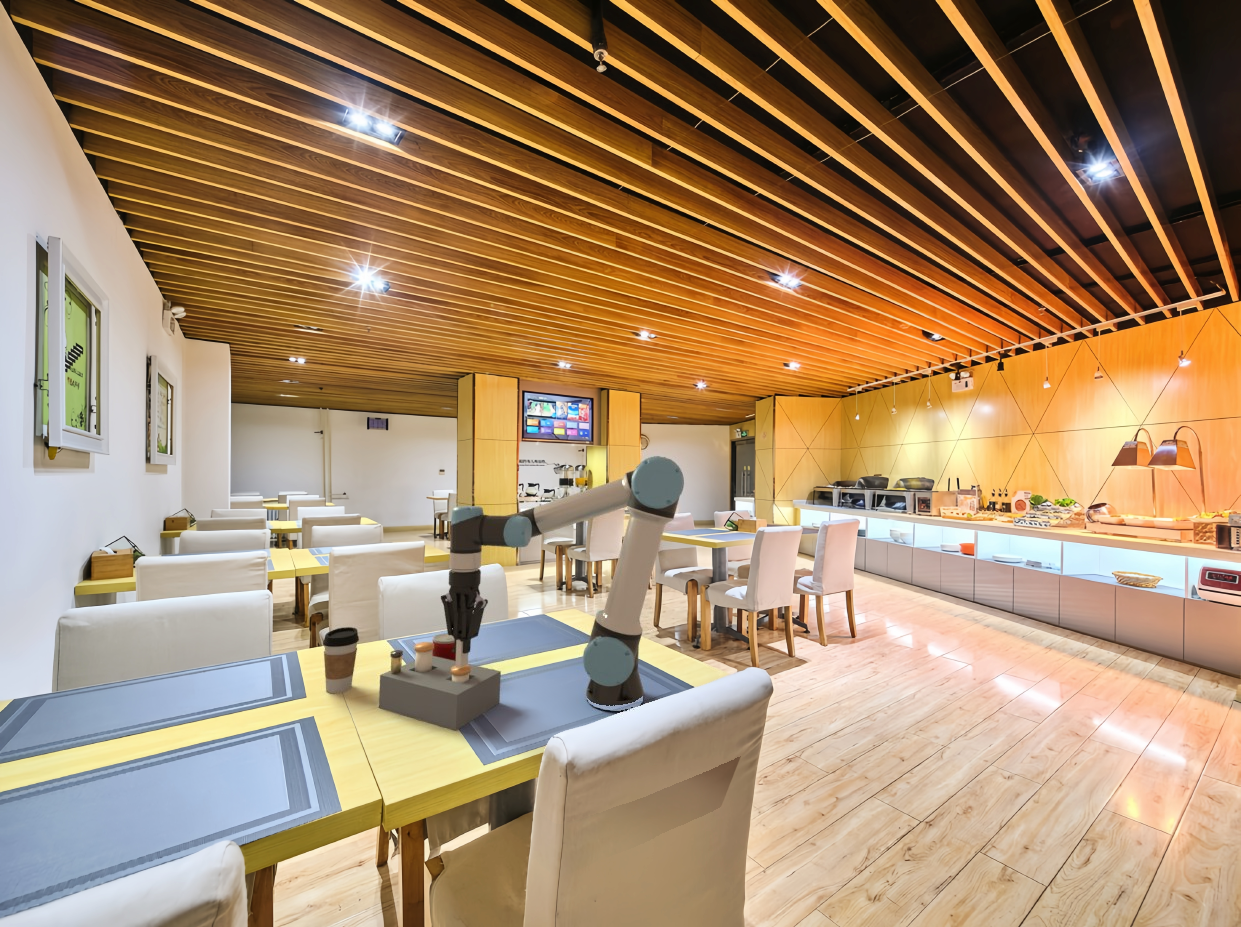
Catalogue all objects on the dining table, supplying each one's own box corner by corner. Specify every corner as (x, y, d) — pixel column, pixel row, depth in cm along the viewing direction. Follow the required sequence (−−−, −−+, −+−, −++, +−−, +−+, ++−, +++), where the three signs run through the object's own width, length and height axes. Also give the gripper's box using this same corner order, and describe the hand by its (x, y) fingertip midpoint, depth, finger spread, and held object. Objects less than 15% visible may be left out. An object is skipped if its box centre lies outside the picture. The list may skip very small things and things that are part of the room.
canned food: (455, 681, 143) (456, 642, 143) (426, 680, 143) (428, 640, 143) (464, 671, 151) (465, 633, 151) (436, 670, 151) (438, 632, 151)
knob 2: (473, 699, 127) (474, 666, 127) (460, 706, 123) (461, 672, 123) (458, 695, 129) (460, 663, 129) (445, 702, 125) (447, 669, 125)
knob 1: (436, 675, 132) (437, 643, 132) (423, 681, 128) (424, 649, 128) (423, 671, 134) (424, 640, 134) (409, 678, 130) (410, 646, 130)
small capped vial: (404, 671, 129) (405, 651, 129) (395, 675, 126) (396, 654, 126) (396, 669, 130) (396, 649, 130) (387, 673, 127) (387, 652, 127)
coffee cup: (363, 683, 140) (366, 628, 140) (343, 696, 131) (346, 637, 132) (334, 681, 140) (337, 625, 141) (312, 694, 132) (315, 635, 132)
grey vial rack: (499, 703, 131) (500, 671, 131) (455, 730, 116) (457, 695, 116) (427, 684, 140) (428, 655, 141) (378, 707, 126) (380, 674, 126)
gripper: (496, 569, 127) (492, 665, 127) (455, 564, 133) (451, 656, 132) (476, 574, 121) (472, 675, 120) (433, 568, 126) (430, 666, 125)
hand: (461, 665), depth 126 cm, fingers closed
